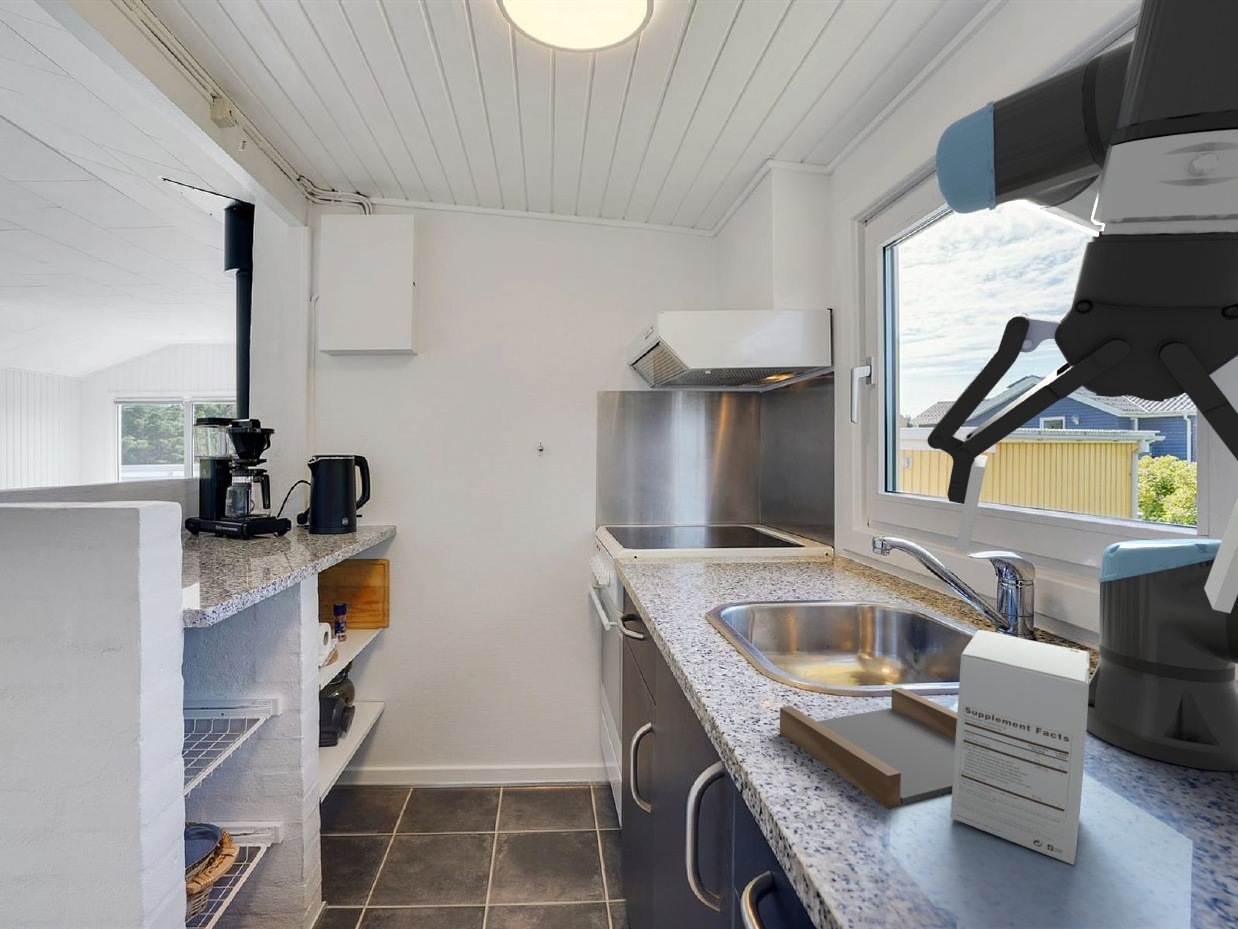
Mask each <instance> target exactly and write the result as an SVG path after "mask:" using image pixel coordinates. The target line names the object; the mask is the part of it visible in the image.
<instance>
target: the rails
mask: <svg viewBox="0 0 1238 929" xmlns="http://www.w3.org/2000/svg"><path fill="white" fill-rule="evenodd" d="M890 704H891V706H890V707H891V709H893V710H895V711H897V712H899V713H901V714H903V715H905V716H907V717H909V718H911V719H913V720H915V721H917V722H919V723H921V724H923V725H925V726H927V727H929V728H931V729H933V730H935V731H937V732H939V733H941V734H943V735H945V736H947V737H949V738H951V739H953V740H955V741H956V726H957V711H954V710H952V709H950V708H949V707H947V706H946V707H945V706H943V705H941V704H939V703H937V702H935V701H932V700H930V699H927V698H925V697H923V696H920V695H918V694H916V693H914V692H912V691H909V690H907V689H906V688H903V687H896V688H891V703H890ZM817 721H818V720H815V719H813V718H812V717H810V716H808V715H807V714H806V713H804V712H802V711H800V710H798V709H797V708H795V707H793V706H792V705H786V706H781V707H779V734H780V735H782V736H783V737H784V738H786V739H788V740H789V741H790V742H792V743H793V744H794V745H795V746H797V747H799V748H800V749H802V750H803V751H805V752H806V753H808V754H809V755H810V756H811V757H813V758H815V759H816V760H818V762H820V763H821V764H823V765H824V766H826V767H828V768H829V769H830V770H832V771H833V772H834V773H836V774H837V775H839V776H840V777H842V778H843V779H845V780H846V781H848V782H849V783H850V784H852V785H853V786H855V787H856V788H857V789H859V790H860V791H862V792H863V793H864V794H866V795H867V796H869V797H870V798H872V799H873V800H875V801H876V802H877V803H879V804H880V805H882V806H884V808H886V809H892V808H895V807H899V806H901V804H900V790H901V773H900V772H899V771H897V770H895V769H894V768H892V767H890V766H889V765H887V764H885V763H884V762H882V761H881V760H879V759H877V758H876V757H874V756H872V755H871V754H869V753H867V752H866V751H864V750H862V749H861V748H859V747H858V746H856V745H854V744H853V743H851V742H849V741H848V740H846V739H844V738H843V737H841V736H840V735H838V734H836V733H835V732H833V731H831V730H830V729H828V728H826V727H825V726H823V725H822V724H820V723H818V722H817Z"/></svg>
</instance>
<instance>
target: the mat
mask: <svg viewBox="0 0 1238 929" xmlns="http://www.w3.org/2000/svg"><path fill="white" fill-rule="evenodd" d="M816 721H817V722H818V723H820V724H822V725H823V726H825V727H826V728H828V729H830V730H831V731H833V732H835V733H836V734H838V735H840V736H841V737H843V738H844V739H846V740H848V741H849V742H851V743H853V744H854V745H856V746H858V747H859V748H861V749H862V750H864V751H866V752H867V753H869V754H871V755H872V756H874V757H876V758H877V759H879V760H881V761H882V762H884V763H885V764H887V765H889V766H890V767H892V768H894V769H895V770H897V771H899V772H900V773H901V790H900V805H902V806H903V805H908V804H911V803H914V802H918V801H922V800H926V799H930V798H934V797H937V796H942V795H945V794H948V793H949V794H950V793H952V788H953V772H954V756H955V740H953V739H951V738H949V737H947V736H945V735H943V734H941V733H939V732H937V731H935V730H933V729H931V728H929V727H927V726H925V725H923V724H921V723H919V722H917V721H915V720H913V719H911V718H909V717H907V716H905V715H903V714H901V713H899V712H897V711H895V710H893V709H891V708H890V707H887V708H884V709H877V710H871V711H866V712H861V713H860V712H859V713H856V714H850V715H845V716H838V717H834V718H828V719H822V720H816Z"/></svg>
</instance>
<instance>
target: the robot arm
mask: <svg viewBox="0 0 1238 929" xmlns="http://www.w3.org/2000/svg"><path fill="white" fill-rule="evenodd" d="M1141 1H1142V2H1141V5H1140V11H1139V13H1138V14H1139V15H1138V19H1137V23H1136V27H1135V32H1134V37H1133V40H1132V41H1128V42H1126V43H1124V44H1122V45H1120V46H1118V47H1115V48H1114V49H1112V50H1109V51H1107V52H1105V53H1102V54H1099V55H1098V56H1096V57H1094V58H1092V59H1090V60H1087V61H1085V62H1082V63H1081V64H1078V65H1076V66H1074V67H1071V68H1069V69H1066V70H1064V71H1062V72H1060V73H1057V74H1055V75H1053V76H1051V77H1049V78H1046V79H1044V80H1041V81H1039V82H1036V83H1034V84H1032V85H1030V86H1028V87H1026V88H1023V89H1021V90H1018V91H1016V92H1014V93H1011V94H1008V95H1007V96H1005V97H1003V98H1001V99H997V100H996V101H994V100H991V101H989V102H988V103H987V104H986V105H985V106H984V107H982V108H980V109H978V110H975V111H974V112H972V113H969V114H968V115H966V116H963V117H962V118H960V119H958V120H956V121H954V122H953V123H951V124H950V125H949V126H948V127H947V128H945V130H944V132H942V135H941V136H940V138H939V140H938V143H937V148H936V151H935V152H936V153H935V169H936V170H935V174H936V181H937V185H938V189H939V192H940V194H941V196H942V198H943V200H944V202H945V204H947V206H948V207H949V208H950V209H951V210H952V211H953V212H954V213H955V214H959V215H962V216H969V215H973V214H978V213H983V212H985V211H990V212H992V211H994V210H997V208H999V207H1002V206H1004V205H1008V204H1015V205H1019V206H1023V207H1025V208H1027V209H1030V210H1033V211H1034V212H1038V213H1039V214H1042V215H1044V216H1047V217H1049V218H1051V219H1054V220H1057V221H1059V222H1061V223H1063V224H1066V225H1068V226H1072V227H1073V228H1076V229H1078V230H1080V231H1083V232H1086V233H1088V234H1090V235H1092V236H1091V237H1090V241H1086V242H1085V244H1084V250H1083V253H1082V256H1081V262H1080V266H1079V271H1078V274H1077V279H1076V284H1075V287H1074V292H1073V296H1072V300H1071V304H1070V308H1069V309H1068V312H1067V313H1066V315H1065V316H1064V317H1063V318H1062V319H1061V320H1060V321H1059V320H1058V321H1057V320H1051V319H1043V318H1038V317H1037V318H1036V317H1030V315H1029V314H1027V313H1026V312H1016V313H1014V314H1013V315H1012V316H1010V317H1009V319H1008V321H1007V323H1006V326H1005V327H1004V328H1005V329H1004V331H1003V334H1002V337H1001V340H1000V342H999V343H1000V344H999V346H998V348H997V349H996V351H995V352H994V353H993V354H992V355H991V356H990V358H989V359H988V360H987V361H986V363H985V364H984V366H983V367H982V368H981V369H980V370H979V372H978V373H977V374H976V375H975V377H974V378H973V379H972V380H971V381H970V383H968V385H967V386H966V388H965V389H964V390H963V392H962V393H960V395H959V396H958V398H957V399H956V400H955V401H954V403H953V404H952V405H951V407H950V408H949V409H948V410H947V411H946V413H945V414H944V415H943V417H941V419H940V420H939V421H938V422H937V424H936V425H935V426H934V427H933V429H932V430H931V432H930V433H929V434H928V437H927V440H926V441H927V444H928V446H929V447H930V448H932V449H934V450H941V451H943V452H944V453H947V454H948V455H949V456H950V457H951V460H952V462H953V463H952V467H951V473H950V478H949V484H948V490H947V493H946V494H947V498H948V501H949V502H951V503H955V504H960V505H963V507H962V508H963V509H962V513H961V519H960V522H959V528H958V534H957V537H956V544H955V549H954V550H955V551H956V552H961V553H965V554H967V553H968V552H969V551H968V550H969V547H970V543H971V540H972V535H973V531H974V526H975V521H976V517H977V510H978V506H979V502H980V497H981V492H982V487H983V482H984V477H985V473H986V468H987V463H988V458H989V456H988V455H983V453H984V452H986V451H987V450H989V449H990V448H992V447H993V446H995V445H996V444H998V443H999V442H1000V441H1002V440H1003V439H1005V438H1006V437H1007V436H1009V435H1011V434H1013V433H1014V432H1015V431H1017V430H1018V429H1019V428H1021V427H1022V426H1024V425H1025V424H1027V423H1028V422H1029V421H1031V420H1032V419H1034V418H1036V417H1037V416H1038V415H1040V414H1041V413H1042V412H1044V411H1046V409H1048V408H1050V407H1051V406H1053V405H1055V403H1057V402H1059V401H1060V400H1061V401H1062V400H1063V399H1065V398H1067V397H1068V396H1070V395H1071V394H1073V393H1074V392H1076V391H1077V390H1079V389H1080V388H1081V387H1083V388H1084V389H1085V390H1087V391H1088V392H1091V393H1093V394H1095V396H1098V397H1107V398H1117V397H1125V396H1126V397H1127V396H1130V397H1135V398H1137V399H1141V400H1144V401H1151V402H1161V403H1164V402H1165V400H1170V399H1173V398H1178V397H1179V396H1181V395H1184V394H1185V395H1186V396H1187V397H1188V398H1189V400H1190V401H1191V402H1192V404H1193V405H1194V406H1195V407H1196V408H1197V410H1198V411H1199V413H1200V414H1201V416H1202V417H1203V418H1204V419H1205V421H1206V422H1207V423H1208V424H1209V426H1210V428H1212V430H1213V432H1215V433H1216V435H1217V436H1218V438H1219V439H1220V440H1221V442H1222V443H1223V444H1224V445H1225V446H1226V448H1227V449H1228V451H1229V452H1230V453H1231V455H1232V456H1233V457H1234V458H1235V460H1236V461H1237V462H1238V412H1237V410H1236V409H1235V408H1234V406H1233V405H1232V403H1231V402H1230V401H1229V399H1228V398H1227V397H1226V395H1225V394H1224V393H1223V391H1222V390H1221V389H1220V388H1219V386H1218V385H1217V384H1216V382H1215V381H1214V380H1213V378H1212V377H1211V375H1213V374H1214V373H1216V372H1217V371H1219V369H1221V368H1223V367H1224V366H1225V365H1227V364H1228V363H1229V362H1231V361H1232V360H1233V359H1235V358H1236V357H1238V0H1141ZM1047 340H1054V343H1055V344H1056V346H1057V348H1058V349H1059V351H1060V353H1061V354H1062V356H1063V358H1064V360H1066V361H1065V362H1064V363H1063V364H1061V365H1060V366H1059V367H1057V368H1056V369H1054V371H1052V372H1050V373H1049V374H1048V375H1047V376H1046V377H1045V378H1044V379H1042V380H1041V381H1040V382H1038V383H1037V384H1035V385H1034V386H1033V387H1031V388H1030V389H1028V390H1027V391H1026V392H1024V393H1023V394H1022V395H1020V396H1019V397H1018V398H1016V399H1015V400H1013V401H1012V402H1011V403H1009V404H1008V405H1007V406H1005V407H1003V408H1002V409H1001V410H999V411H998V412H997V413H994V415H993V416H991V417H990V418H989V419H987V420H986V421H984V422H983V423H981V424H980V425H978V426H977V427H976V428H974V429H973V430H972V431H970V432H969V433H968V434H966V435H963V434H962V433H960V432H958V431H959V429H961V427H962V425H964V424H965V422H966V421H967V420H968V419H969V418H970V416H971V415H972V414H973V413H974V412H975V411H976V409H977V408H978V407H979V405H980V404H982V402H983V401H984V400H985V399H986V398H987V396H988V395H989V394H990V393H991V391H992V390H993V389H994V388H995V387H996V386H997V384H998V383H999V382H1000V381H1001V380H1002V378H1003V377H1004V376H1005V374H1006V373H1007V372H1008V371H1009V369H1011V367H1012V366H1013V364H1015V362H1016V360H1017V358H1018V357H1019V356H1020V353H1024V354H1025V353H1027V354H1028V353H1032V352H1034V351H1035V350H1037V348H1038V347H1039V346H1040V344H1041V343H1042V342H1044V341H1047ZM1100 567H1101V568H1100V576H1099V577H1098V580H1097V581H1098V583H1099V631H1098V632H1099V634H1098V635H1099V637H1098V638H1099V639H1098V640H1099V642H1098V643H1099V644H1098V645H1099V649H1098V650H1099V651H1098V654H1099V655H1098V662H1097V665H1096V666H1095V669H1094V671H1093V673H1092V675H1091V677H1090V678H1089V691H1088V711H1087V725H1086V731H1088V732H1090V733H1091V734H1092V735H1094V736H1096V737H1097V738H1099V739H1101V740H1103V741H1105V742H1107V743H1110V744H1112V745H1113V746H1116V747H1119V748H1121V749H1124V750H1127V751H1129V752H1131V753H1135V754H1138V755H1141V756H1143V757H1148V758H1151V759H1155V760H1158V761H1161V762H1164V763H1165V762H1166V763H1169V764H1175V765H1180V766H1183V767H1184V766H1185V767H1188V768H1194V769H1195V768H1196V769H1201V770H1208V771H1221V772H1223V771H1224V772H1238V690H1237V687H1236V664H1237V665H1238V497H1237V498H1236V501H1235V505H1234V506H1233V509H1232V513H1231V514H1230V517H1229V521H1228V524H1227V525H1226V528H1225V531H1224V534H1223V537H1222V539H1212V538H1180V539H1179V538H1175V539H1174V538H1171V539H1170V538H1169V539H1165V538H1164V539H1144V540H1143V539H1142V540H1141V539H1140V540H1128V541H1126V540H1125V541H1120V542H1116V543H1115V542H1114V543H1112V544H1110V545H1108V546H1107V547H1106V548H1105V549H1104V550H1103V552H1102V556H1101V566H1100Z"/></svg>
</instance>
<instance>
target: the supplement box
mask: <svg viewBox="0 0 1238 929" xmlns="http://www.w3.org/2000/svg"><path fill="white" fill-rule="evenodd" d="M1090 658H1091V654H1090V652H1089V651H1086V650H1082V649H1081V650H1080V649H1078V648H1077V649H1076V648H1070V647H1065V646H1061V645H1054V644H1049V643H1044V642H1041V641H1035V640H1031V639H1026V638H1021V637H1017V636H1013V635H1009V634H1004V633H1001V632H994V631H991V630H983V629H978V630H977V631H976V632H975V634H974V635H973V636H972V638H971V640H970V641H969V642H968V644H967V645H966V647H965V648H964V650H963V651H962V653H961V654H960V669H959V684H958V698H957V711H956V712H957V726H956V741H955V756H954V772H953V788H952V792H951V806H950V808H951V809H950V818H952V819H953V820H955V821H958V822H960V823H964V824H966V825H969V826H971V827H973V828H976V829H978V830H981V831H984V832H986V833H989V834H992V835H994V836H997V837H1000V838H1002V839H1005V840H1007V841H1010V842H1013V843H1015V844H1017V845H1020V846H1023V847H1025V848H1028V849H1030V850H1033V851H1036V852H1038V853H1041V854H1043V855H1047V856H1049V857H1052V858H1054V859H1057V860H1059V861H1062V862H1065V863H1066V864H1067V863H1068V864H1070V865H1075V861H1076V852H1077V842H1078V835H1079V834H1078V833H1079V822H1080V813H1081V802H1082V789H1083V777H1084V763H1085V762H1084V761H1085V753H1086V752H1085V750H1086V741H1087V740H1086V736H1087V735H1086V734H1087V729H1086V725H1087V711H1088V691H1089V682H1090V662H1091V661H1090Z"/></svg>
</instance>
